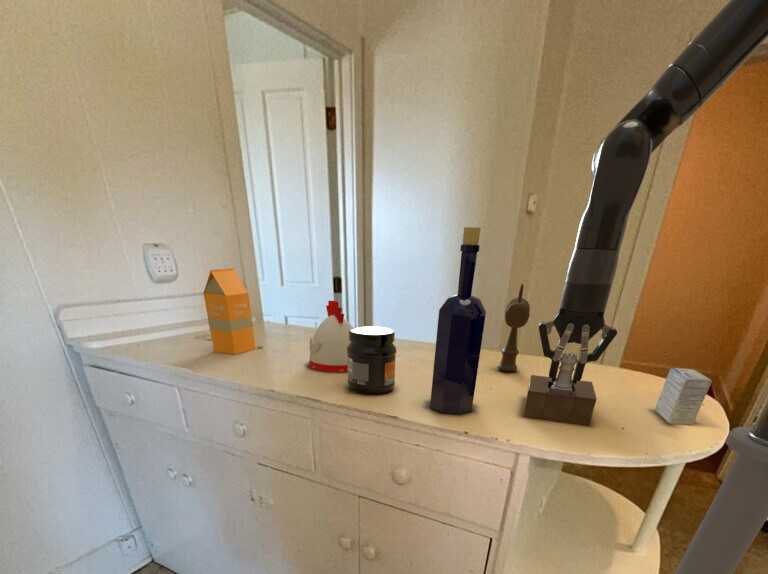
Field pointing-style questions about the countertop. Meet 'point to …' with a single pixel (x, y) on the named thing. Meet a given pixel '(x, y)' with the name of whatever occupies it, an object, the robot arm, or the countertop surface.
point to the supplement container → (371, 360)
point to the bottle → (459, 338)
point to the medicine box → (682, 396)
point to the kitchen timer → (331, 342)
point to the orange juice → (228, 312)
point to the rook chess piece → (565, 372)
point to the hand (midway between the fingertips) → (563, 381)
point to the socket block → (560, 401)
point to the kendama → (514, 330)
